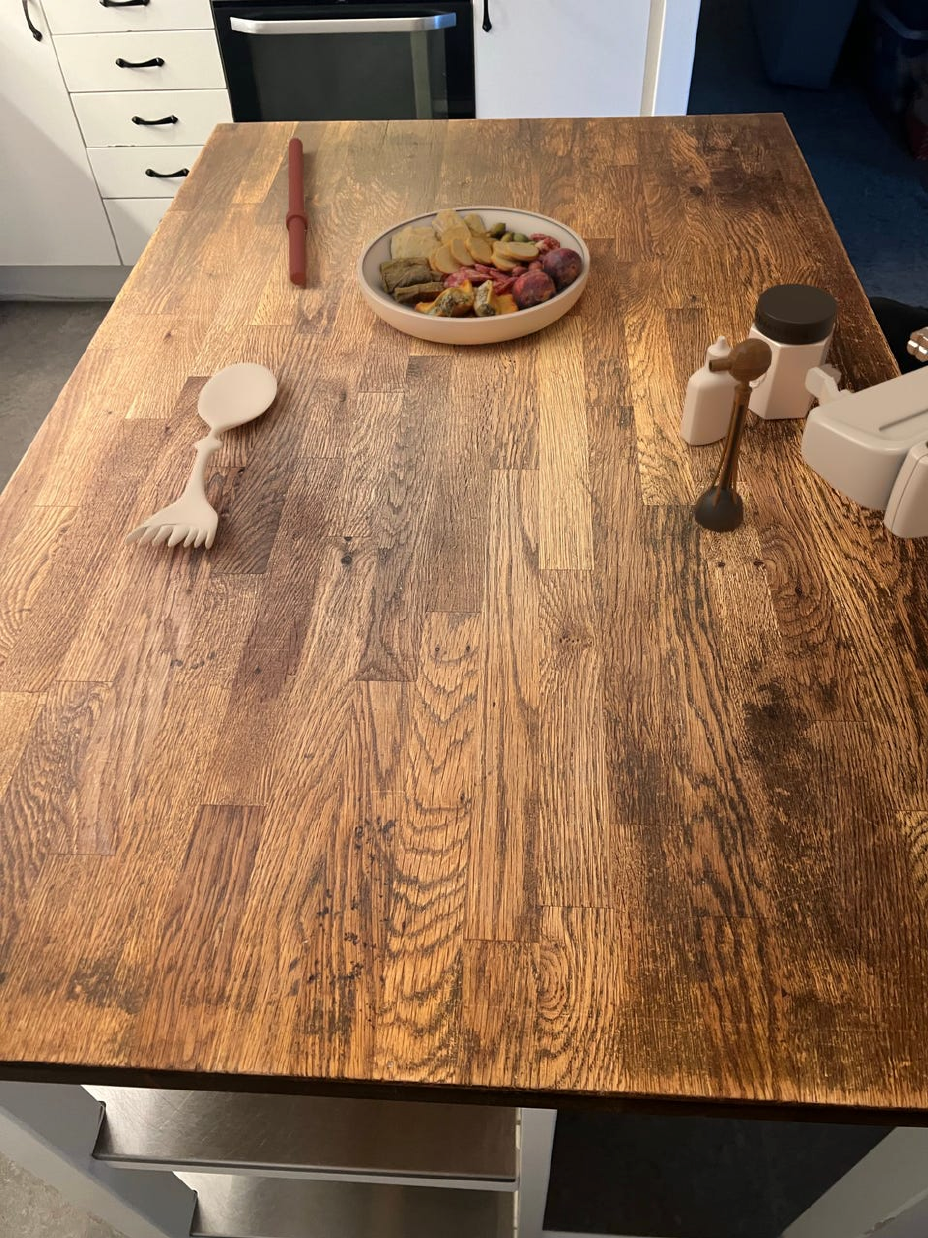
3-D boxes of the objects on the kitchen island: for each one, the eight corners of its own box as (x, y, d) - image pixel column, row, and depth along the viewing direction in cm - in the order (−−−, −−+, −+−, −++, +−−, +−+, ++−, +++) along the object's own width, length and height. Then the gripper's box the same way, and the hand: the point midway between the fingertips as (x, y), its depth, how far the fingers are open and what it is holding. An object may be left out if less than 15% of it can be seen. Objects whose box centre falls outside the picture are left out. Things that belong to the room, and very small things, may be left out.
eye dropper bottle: (677, 422, 107) (691, 325, 98) (728, 422, 106) (747, 325, 98) (680, 446, 104) (695, 349, 95) (733, 447, 104) (753, 349, 95)
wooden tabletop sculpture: (691, 536, 95) (722, 359, 80) (677, 505, 98) (705, 330, 83) (749, 528, 95) (791, 350, 80) (734, 497, 98) (771, 321, 83)
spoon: (130, 564, 96) (119, 539, 93) (215, 379, 117) (208, 354, 114) (217, 567, 95) (209, 542, 92) (288, 380, 116) (282, 355, 113)
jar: (721, 392, 110) (738, 296, 101) (774, 368, 113) (795, 273, 104) (776, 431, 105) (799, 334, 96) (831, 405, 108) (858, 308, 99)
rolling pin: (311, 288, 130) (307, 266, 128) (288, 290, 130) (284, 268, 128) (306, 153, 161) (303, 133, 158) (288, 155, 160) (284, 135, 158)
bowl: (325, 338, 122) (315, 280, 116) (409, 229, 141) (404, 175, 135) (553, 373, 114) (555, 313, 109) (610, 253, 133) (614, 196, 127)
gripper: (1153, 370, 62) (989, 277, 71) (906, 471, 57) (761, 357, 66) (1109, 448, 67) (960, 352, 76) (878, 547, 62) (746, 432, 70)
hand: (866, 355), depth 71 cm, fingers open, 8 cm apart
